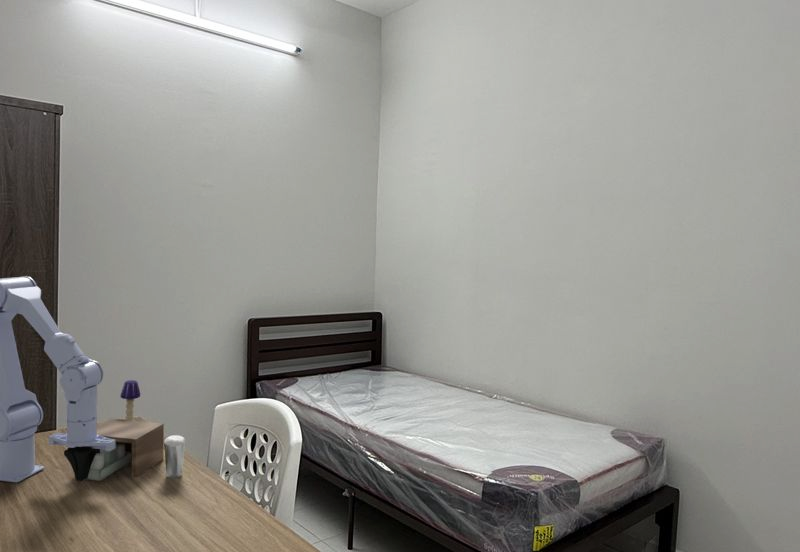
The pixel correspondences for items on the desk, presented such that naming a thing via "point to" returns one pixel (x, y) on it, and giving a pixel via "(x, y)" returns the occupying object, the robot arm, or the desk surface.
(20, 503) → the desk surface
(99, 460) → the caddy
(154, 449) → the brown open box
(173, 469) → the milkshake
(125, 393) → the toy lamp
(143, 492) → the desk surface
